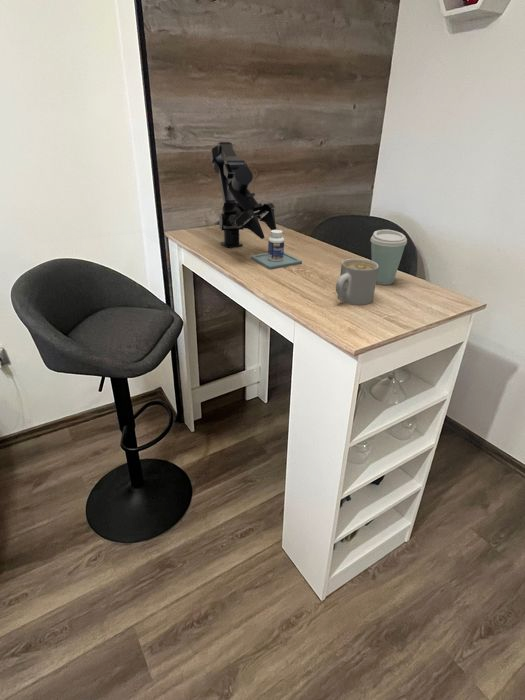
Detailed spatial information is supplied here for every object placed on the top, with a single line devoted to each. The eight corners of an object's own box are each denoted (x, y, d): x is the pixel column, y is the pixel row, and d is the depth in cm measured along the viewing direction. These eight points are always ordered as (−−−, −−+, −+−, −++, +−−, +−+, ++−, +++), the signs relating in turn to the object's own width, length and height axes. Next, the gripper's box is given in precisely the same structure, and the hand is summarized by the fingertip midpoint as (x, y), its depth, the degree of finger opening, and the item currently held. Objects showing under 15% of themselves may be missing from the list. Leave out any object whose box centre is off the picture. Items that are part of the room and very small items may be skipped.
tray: (250, 258, 149) (250, 255, 149) (281, 253, 155) (281, 250, 155) (269, 269, 140) (269, 266, 139) (301, 263, 146) (302, 260, 145)
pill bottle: (272, 262, 144) (273, 234, 139) (265, 258, 148) (265, 230, 143) (286, 260, 146) (287, 232, 141) (278, 256, 150) (279, 228, 145)
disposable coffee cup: (406, 285, 130) (416, 236, 123) (377, 289, 126) (386, 239, 119) (385, 274, 139) (393, 227, 131) (357, 277, 135) (364, 230, 127)
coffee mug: (357, 289, 127) (362, 256, 121) (380, 301, 119) (386, 267, 114) (320, 296, 121) (324, 263, 116) (342, 310, 113) (347, 274, 108)
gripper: (241, 206, 154) (266, 242, 156) (213, 215, 140) (240, 255, 141) (262, 187, 147) (287, 224, 149) (234, 194, 133) (262, 236, 134)
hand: (269, 235), depth 144 cm, fingers open, 9 cm apart
